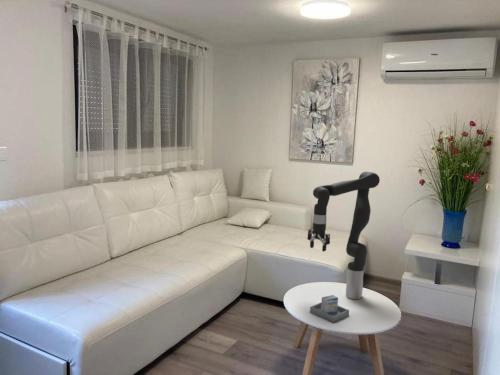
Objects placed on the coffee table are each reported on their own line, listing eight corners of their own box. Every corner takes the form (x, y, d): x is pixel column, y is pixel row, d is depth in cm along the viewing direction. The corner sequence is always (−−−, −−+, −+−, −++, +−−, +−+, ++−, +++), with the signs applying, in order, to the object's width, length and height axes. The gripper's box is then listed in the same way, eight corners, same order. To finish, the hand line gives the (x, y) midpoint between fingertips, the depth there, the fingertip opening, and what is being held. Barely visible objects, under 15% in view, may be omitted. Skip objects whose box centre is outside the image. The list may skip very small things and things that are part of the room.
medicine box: (325, 315, 213) (326, 300, 212) (320, 312, 217) (321, 296, 216) (337, 312, 217) (338, 297, 216) (332, 309, 221) (333, 294, 219)
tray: (325, 305, 227) (325, 300, 226) (348, 315, 216) (349, 310, 215) (309, 312, 218) (310, 306, 217) (333, 322, 206) (334, 317, 206)
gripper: (333, 223, 226) (331, 251, 228) (313, 218, 236) (312, 245, 239) (325, 225, 221) (323, 253, 223) (305, 220, 231) (304, 247, 233)
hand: (317, 249), depth 231 cm, fingers open, 8 cm apart
